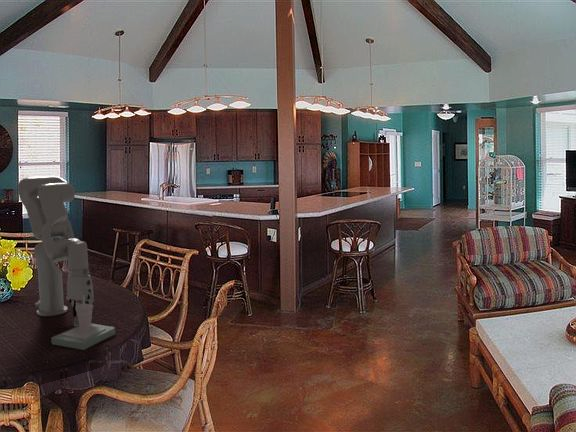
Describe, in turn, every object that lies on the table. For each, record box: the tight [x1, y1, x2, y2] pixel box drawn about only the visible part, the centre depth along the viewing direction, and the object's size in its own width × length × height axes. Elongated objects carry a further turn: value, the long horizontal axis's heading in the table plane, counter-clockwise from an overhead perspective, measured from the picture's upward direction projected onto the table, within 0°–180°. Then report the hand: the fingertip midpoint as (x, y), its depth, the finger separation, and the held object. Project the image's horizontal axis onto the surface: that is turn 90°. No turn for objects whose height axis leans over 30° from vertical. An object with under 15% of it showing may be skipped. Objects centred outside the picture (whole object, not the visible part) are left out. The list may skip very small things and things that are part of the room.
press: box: [51, 323, 116, 351], centre depth 206 cm, size 22×21×3 cm
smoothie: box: [75, 295, 94, 332], centre depth 202 cm, size 6×6×14 cm
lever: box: [73, 300, 82, 325], centre depth 216 cm, size 4×4×12 cm
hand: (80, 315), depth 217 cm, fingers closed on lever, 3 cm apart
